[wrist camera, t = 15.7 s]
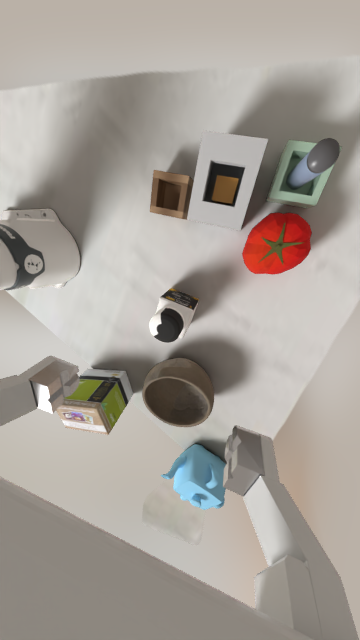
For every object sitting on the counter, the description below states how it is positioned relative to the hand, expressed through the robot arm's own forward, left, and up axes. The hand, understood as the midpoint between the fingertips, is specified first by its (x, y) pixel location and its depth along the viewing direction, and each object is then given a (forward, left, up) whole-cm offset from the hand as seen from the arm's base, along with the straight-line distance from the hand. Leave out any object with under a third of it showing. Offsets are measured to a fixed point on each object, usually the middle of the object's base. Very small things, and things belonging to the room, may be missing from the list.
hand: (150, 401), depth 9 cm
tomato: (+8, +7, -34) cm, 36 cm away
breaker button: (-2, +13, -31) cm, 34 cm away
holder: (-11, +11, -34) cm, 37 cm away
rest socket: (+8, +16, -34) cm, 39 cm away
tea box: (-24, -43, -34) cm, 60 cm away
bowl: (-1, -30, -34) cm, 46 cm away
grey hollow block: (-2, +13, -34) cm, 36 cm away
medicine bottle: (-6, -10, -34) cm, 36 cm away
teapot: (+11, -62, -34) cm, 72 cm away
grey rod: (+8, +16, -33) cm, 38 cm away
